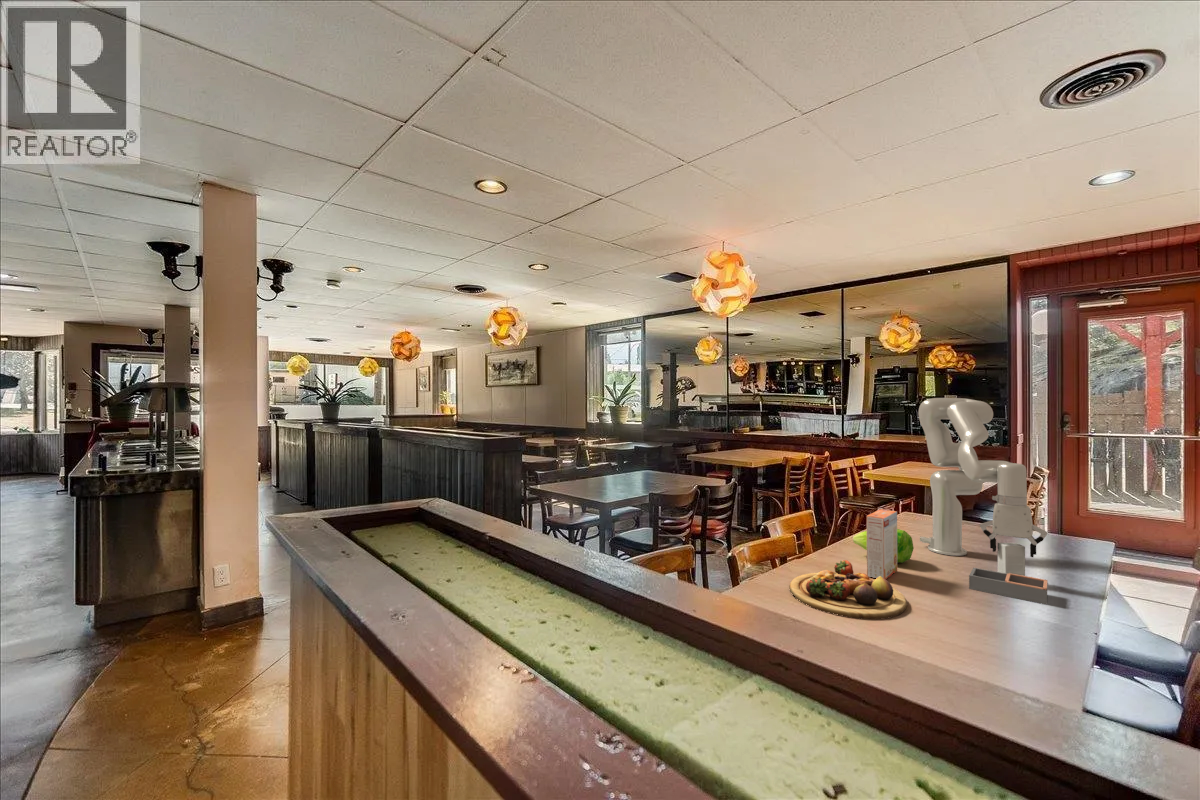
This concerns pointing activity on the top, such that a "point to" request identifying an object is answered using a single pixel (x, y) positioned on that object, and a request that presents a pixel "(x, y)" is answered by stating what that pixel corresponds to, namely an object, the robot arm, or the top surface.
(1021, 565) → the skincare box
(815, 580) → the wooden plate with food
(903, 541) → the lettuce
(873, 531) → the cracker box
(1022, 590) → the box
